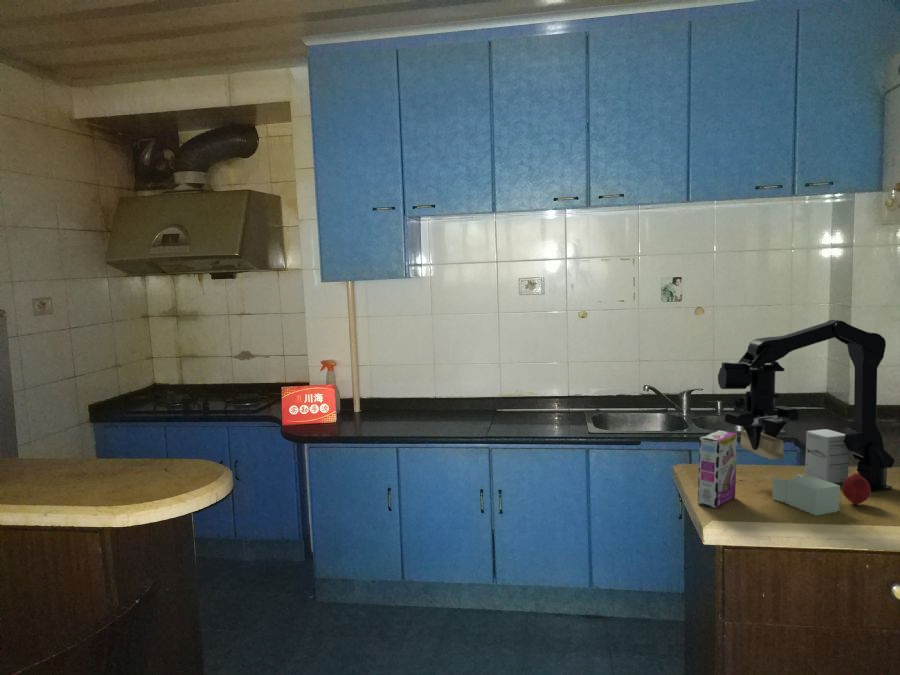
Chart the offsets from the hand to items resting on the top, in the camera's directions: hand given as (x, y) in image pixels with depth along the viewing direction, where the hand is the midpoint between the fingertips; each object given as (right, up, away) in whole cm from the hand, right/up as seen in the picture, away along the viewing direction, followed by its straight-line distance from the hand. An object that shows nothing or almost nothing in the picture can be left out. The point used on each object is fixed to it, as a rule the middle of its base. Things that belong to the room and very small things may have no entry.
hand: (761, 448), depth 165 cm
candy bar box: (-15, -11, -9) cm, 21 cm away
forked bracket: (+5, -11, -13) cm, 18 cm away
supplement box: (+20, -9, +7) cm, 23 cm away
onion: (+16, -11, -13) cm, 23 cm away
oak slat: (0, -1, 0) cm, 1 cm away
